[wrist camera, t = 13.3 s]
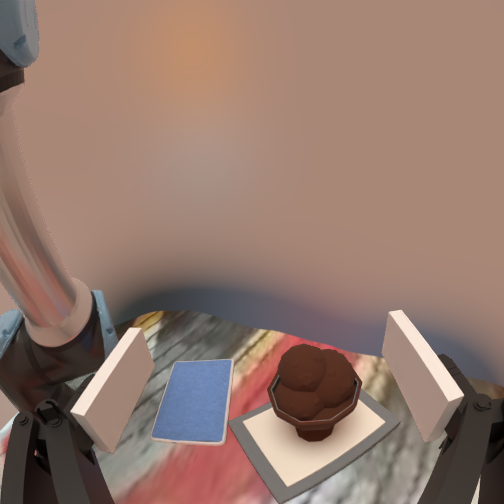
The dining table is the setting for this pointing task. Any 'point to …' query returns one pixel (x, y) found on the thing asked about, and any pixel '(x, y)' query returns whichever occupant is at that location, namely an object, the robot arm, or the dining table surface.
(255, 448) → the mat
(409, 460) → the dining table surface
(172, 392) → the tablet computer
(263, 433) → the sheet
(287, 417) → the ice cream bowl
